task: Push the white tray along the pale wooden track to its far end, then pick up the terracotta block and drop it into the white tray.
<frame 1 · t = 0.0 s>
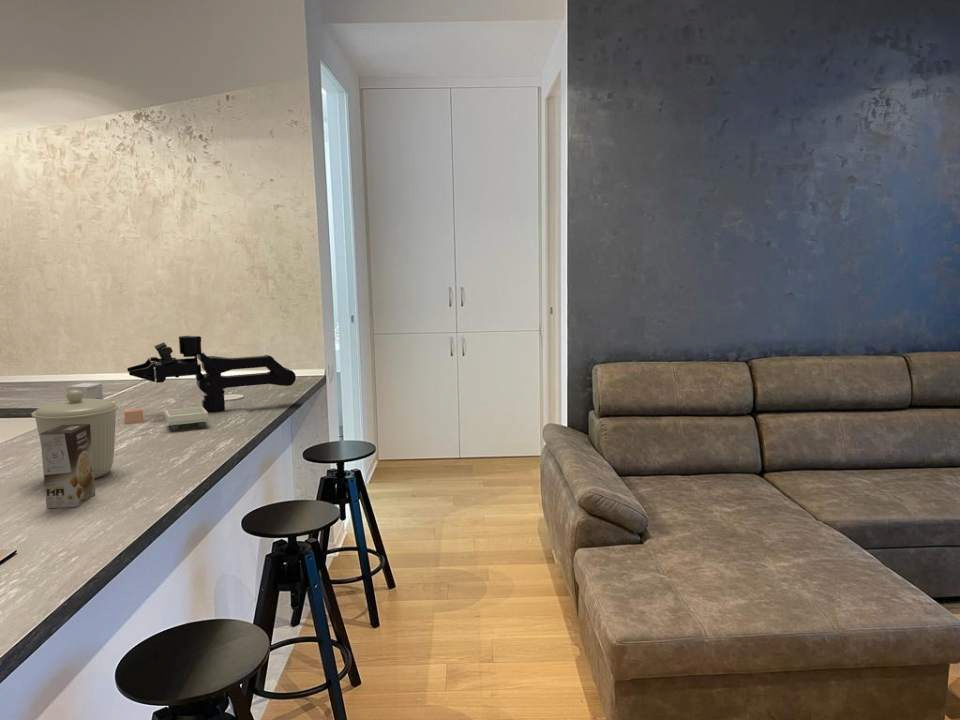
hand: (128, 371, 231), 17 cm above the countertop, tool horizontal, fingers open, 9 cm apart
supplement box: (87, 424, 233), on the countertop
block: (134, 425, 230), on the countertop
white tray: (186, 419, 221), point 4 cm above the countertop, slide at -5.0 cm
track: (169, 432, 219), on the countertop
canister: (81, 477, 175), on the countertop
coffee box: (72, 502, 156), on the countertop
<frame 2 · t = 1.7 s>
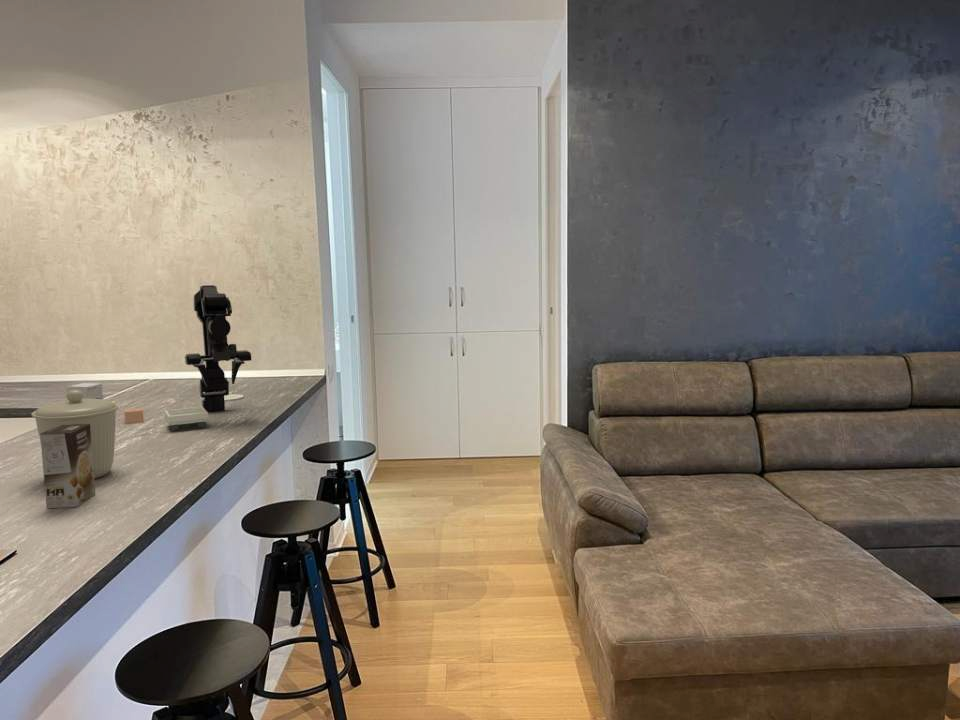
hand: (220, 385, 224), 13 cm above the countertop, tool pointing down, fingers open, 7 cm apart
nothing on the countertop moved.
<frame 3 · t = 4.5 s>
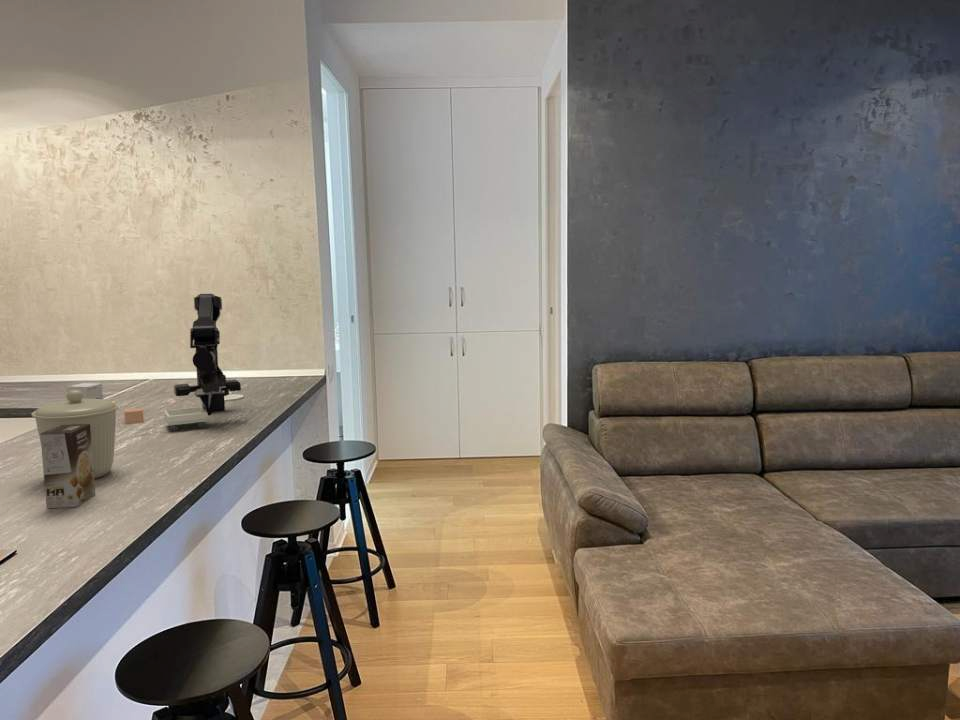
hand: (209, 415, 224), 4 cm above the countertop, tool pointing down, fingers closed
white tray: (185, 419, 221), point 4 cm above the countertop, slide at -4.8 cm, touching gripper
everything else where it was.
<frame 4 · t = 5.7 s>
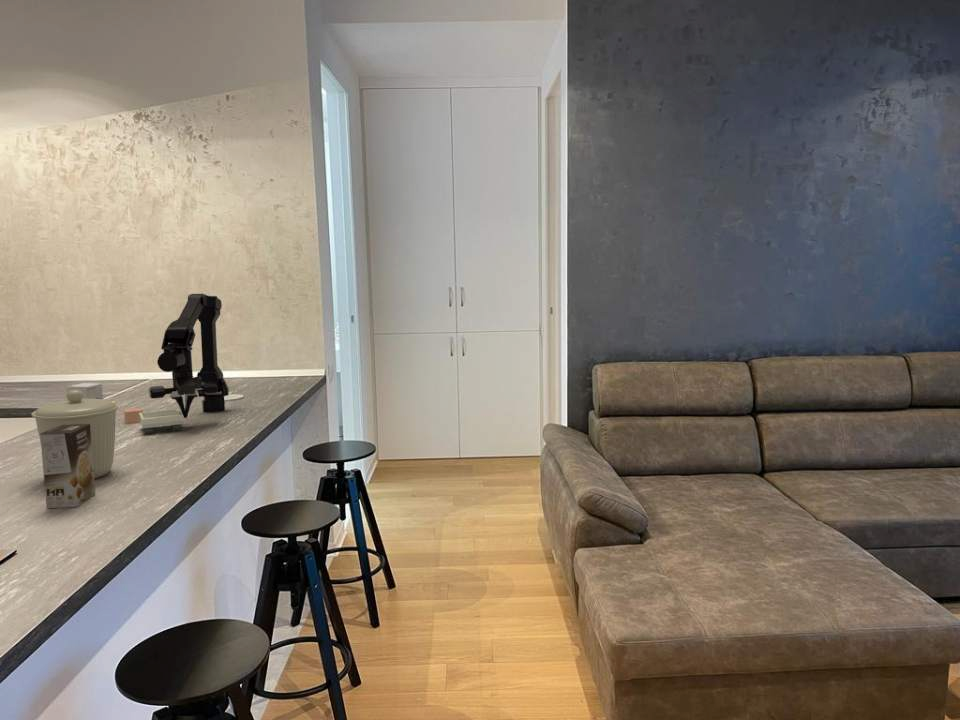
hand: (185, 417, 221), 4 cm above the countertop, tool pointing down, fingers closed
white tray: (161, 421, 217), point 4 cm above the countertop, slide at 2.1 cm, touching gripper
everything else where it was.
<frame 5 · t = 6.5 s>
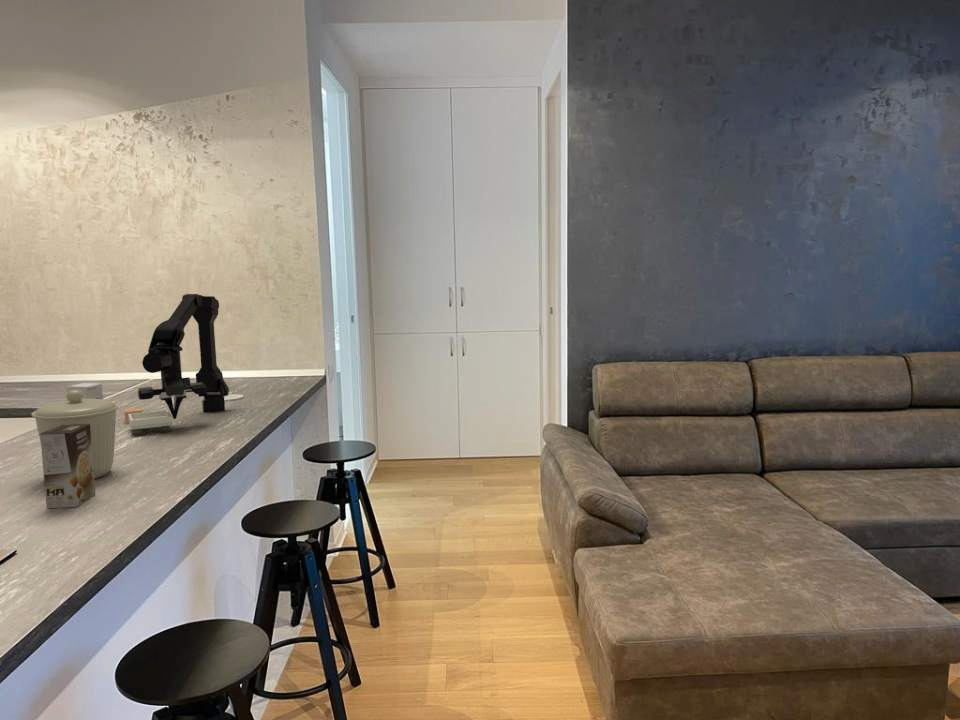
hand: (174, 418, 219), 4 cm above the countertop, tool pointing down, fingers closed
white tray: (150, 423, 216), point 4 cm above the countertop, slide at 5.0 cm, touching gripper
everything else where it was.
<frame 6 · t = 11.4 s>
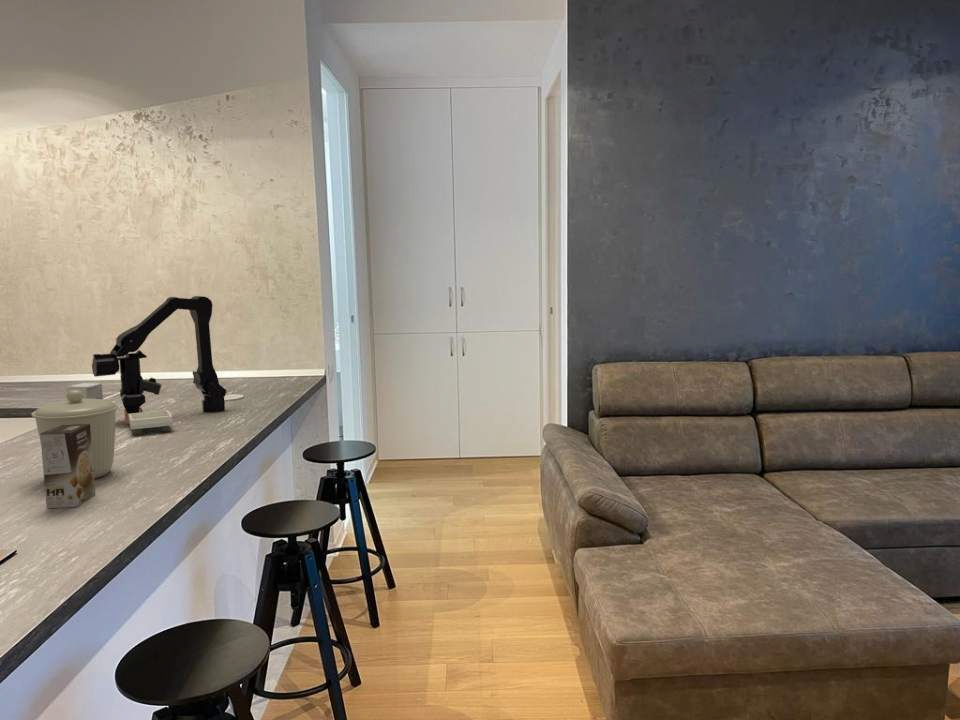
hand: (134, 421, 229), 1 cm above the countertop, tool pointing down, fingers closed on block, 5 cm apart
block: (134, 425, 230), on the countertop, touching gripper
white tray: (150, 423, 216), point 4 cm above the countertop, slide at 5.0 cm
everything else where it was.
when the fingers open (6 cm above the countertop, at t = 15.4 s): block drops 1 cm, resting on white tray.
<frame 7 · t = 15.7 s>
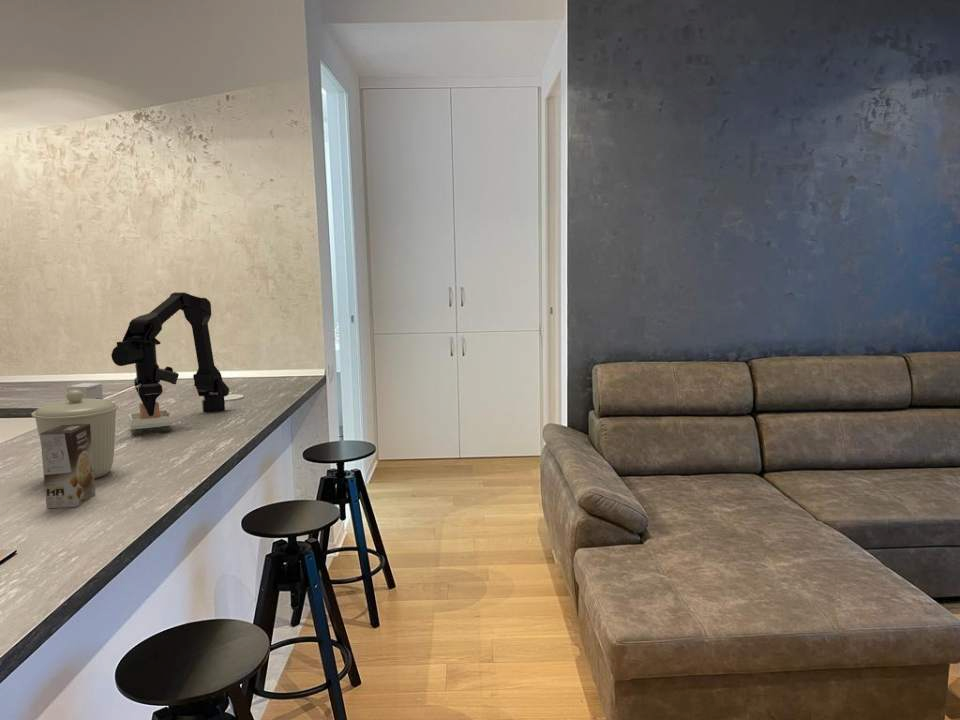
hand: (149, 413, 216), 6 cm above the countertop, tool pointing down, fingers open, 8 cm apart
block: (150, 420, 216), point 4 cm above the countertop, touching white tray
white tray: (150, 423, 216), point 4 cm above the countertop, slide at 5.0 cm, touching block
everything else where it was.
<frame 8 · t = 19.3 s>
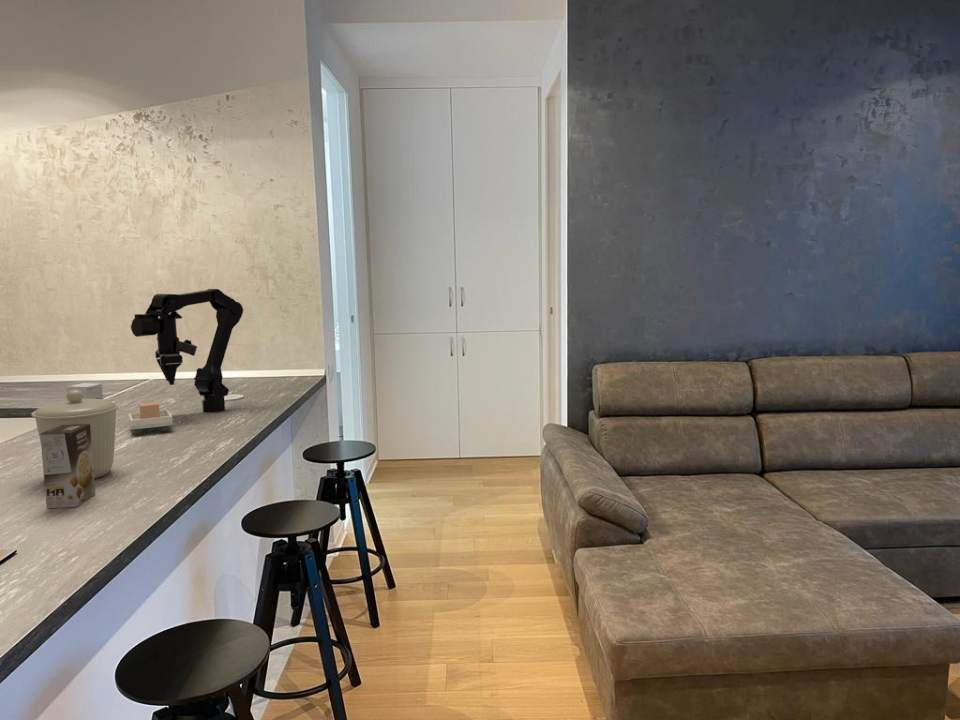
hand: (170, 382, 230), 13 cm above the countertop, tool pointing down, fingers open, 9 cm apart
nothing on the countertop moved.
at the end: white tray slide at 5.0 cm; block 0.0 cm off-centre on the white tray, point 3.2 cm above the white tray's base; block tilted 0° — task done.
